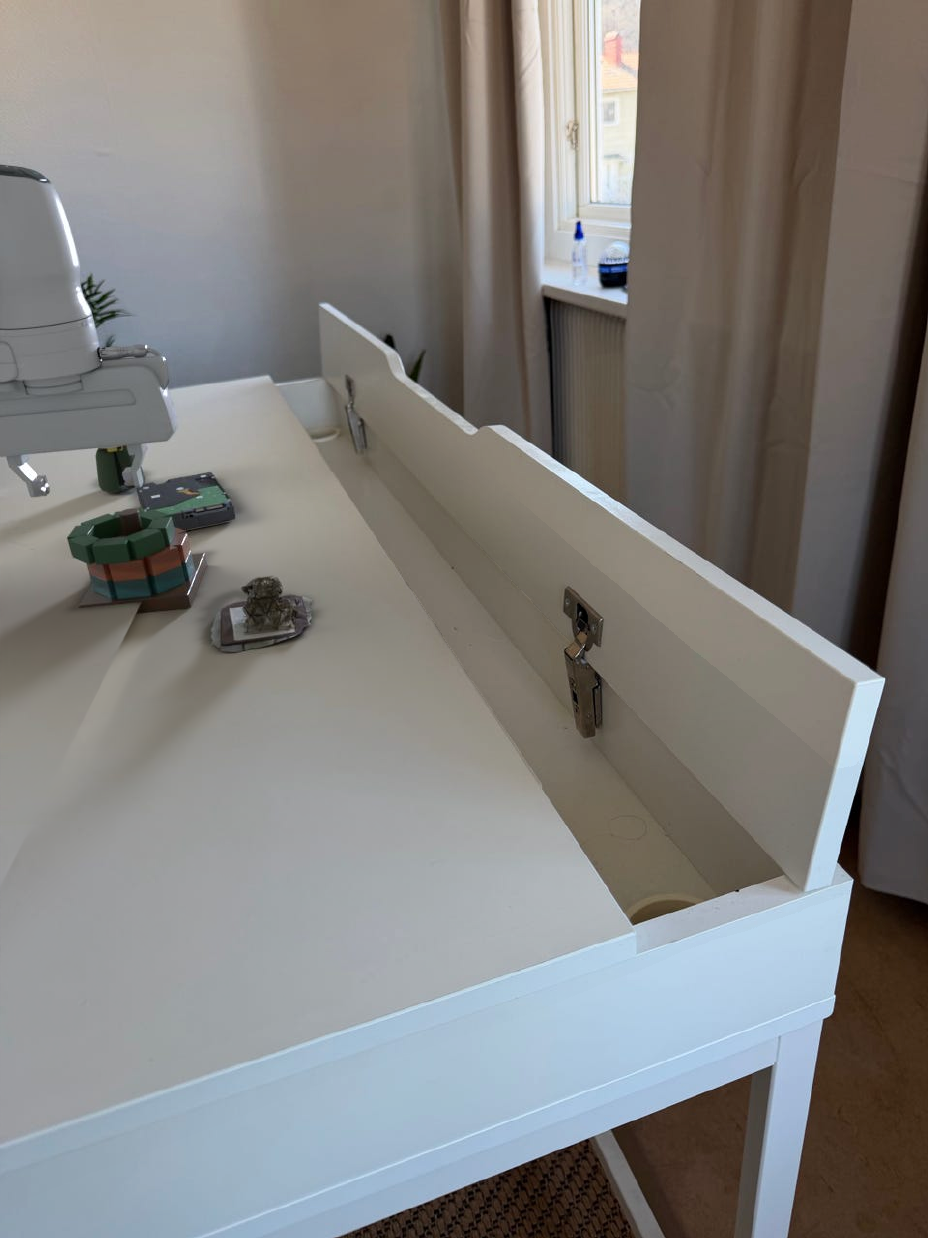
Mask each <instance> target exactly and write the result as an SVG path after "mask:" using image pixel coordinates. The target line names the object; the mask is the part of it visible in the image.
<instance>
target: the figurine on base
mask: <svg viewBox="0 0 928 1238" xmlns="http://www.w3.org/2000/svg"><path fill="white" fill-rule="evenodd" d="M240 589H241V591H242V592H243V593H244V594H245V595H246V597H247V599H243V600H239V601H235V602H232V603H231V604H229V605H226V606H224V607H222V608H221V609H220V610H219V611H218V612H217V613H216V614H215V616H214V620H213V624H212V627H211V628H210V632H211V635H210V639H211V640H212V641H211V645H213V646H215V647H216V648H217V650H219V651H222V652H228V653H236V652H237V653H238V652H243V651H247V650H251V649H259V648H264V647H269V646H271V645H275V644H276V643H277V644H278V643H279V642H282V641H285V640H288V639H291V638H293V637H296V636H298V635H300V634H302V633H303V629H304V628H306V627H309V626H311V625H312V623H311V622H310V621H311V620H312V619H313V616H312V614H313V610H312V608H311V603H312V602H313V599H311V598H309V597H307V596H304V595H297V594H283V592H284V585H283V583H282V581H281V579H280V578H279V577H277V576H276V575H268V576H257V577H254V578H252V579H251V580H250V581H248V582H247V583H246V584H244V585H242V586H241V588H240ZM282 594H283V595H282Z"/></svg>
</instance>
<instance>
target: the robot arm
mask: <svg viewBox="0 0 928 1238" xmlns="http://www.w3.org/2000/svg"><path fill="white" fill-rule="evenodd" d="M149 353H151V354H149ZM169 384H170V373H169V368H168V363H167V360H166V358H165V357H164V356H163V354H161V352H159V351H158V350H156V349H155V348H151V347H149V346H148V345H147V344H133V345H129V346H109V347H108V346H104V347H101V345H100V341H99V336H98V332H97V329H96V323H95V320H94V316H93V311H92V309H91V307H90V304H89V303H88V301H87V300H86V297H85V295H84V292H83V289H82V283H81V262H80V257H79V254H78V250H77V246H76V243H75V238H74V235H73V232H72V229H71V226H70V221H69V219H68V217H67V213H66V210H65V208H64V205H63V202H62V200H61V198H60V196H59V193H58V192H57V190H56V187H55V186H54V185H53V183H52V181H51V180H49V178H48V177H46V176H45V175H43V174H42V173H41V172H39V171H36V170H34V169H32V168H27V167H23V166H17V165H8V164H0V458H4V457H5V458H6V461H7V465H8V467H9V468H10V469H11V471H12V472H13V473H15V474H16V475H17V476H18V477H19V478H20V479H21V481H23V482H24V483H25V484H26V487H27V491H28V494H29V496H30V498H41V497H47V496H48V495H49V494H50V493H51V490H50V485H49V484H48V477H47V475H46V474H43V475H38V474H37V473H36V471H35V470H33V468H32V467H31V466H30V465H29V464H28V462H27V461H29V460H30V455H35V454H37V455H38V454H48V453H57V452H58V453H59V452H67V451H68V452H69V451H70V452H71V451H79V450H81V451H82V450H91V449H98V448H102V447H113V446H124V445H127V449H128V453H129V455H134V454H135V457H134V460H133V464H132V467H127V468H125V469H124V471H123V472H122V476H123V479H124V480H125V483H124V484H125V485H124V487H125V489H127V488H133V489H136V488H138V487H141V486H142V485H143V476H142V472H141V468H140V467H142V465H143V462H144V460H145V457H146V453H147V452H148V445H147V444H156V443H164V442H168V441H170V440H171V439H172V438H173V436H174V435H175V434H176V432H177V430H178V428H179V419H178V415H177V411H176V407H175V404H174V401H173V398H172V395H171V392H170V390H169Z"/></svg>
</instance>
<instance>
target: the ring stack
mask: <svg viewBox="0 0 928 1238" xmlns="http://www.w3.org/2000/svg"><path fill="white" fill-rule="evenodd" d="M120 511H121V512H119V518H120V522H121V526H122V530H123V534H124V535H118V536H115V537H126V536H129V535H131V534H134V533H137V532H139V531H142V530H143V526H142V522H141V518H140V514H139V509H138V508H126V509H123V510H120ZM174 529H175V533H176V534H175V536H174V538H173V540H172V542H171V544H170V546H165V548H166V549H163V550H161V551H159V552H156V553H154V554H151V555H149V556H146V557H144V558H141V559H139V560H137V559H134V558H132V559H131V561H130V562H122V563H112V564H102V565H96V562H95V563H93V564H88V563H85V564H86V567H87V571H88V574H89V578H90V581H91V585H90V586H89V588H88V589H87V592H86V593H85V594H84V596H83V598H82V600H81V601H80V603H79V604H78V608H79V609H83V608H93V607H103V606H104V607H105V606H111V605H112V606H113V605H114V606H115V605H122V604H132V603H140V605H139V606H138V608H137V611H136V614H140V613H150V612H161V611H162V612H163V611H171V610H179V609H181V610H182V609H190V608H192V606H193V603H194V600H195V597H196V595H197V593H198V590H199V587H200V584H201V583H202V580H203V577H204V575H205V571H206V569H207V567H208V562H207V557H206V553H205V552H201V553H192V550H191V549H192V548H191V545H190V540H189V535H188V533H187V532H186V531H185V530H181V529H178V528H175V527H174ZM115 537H112V538H115Z"/></svg>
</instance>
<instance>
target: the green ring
mask: <svg viewBox="0 0 928 1238" xmlns="http://www.w3.org/2000/svg"><path fill="white" fill-rule="evenodd" d="M138 510H139V514H140V518H141V522H142V526H143V530H142V531H139V532H137V533H134V534H131V535H129V536H126V537H115V536H118V535H124V534H123V530H122V526H121V522H120V518H119V512H121V511H122V510H120V511H115V512H114V513H113V514H110V513H105V514H102V515H99V516H97V517H94V518H92V519H88V520H86V521H83V522H80V525H75V526H74V528H73V529H72V530H71V531H70V533H69V534H68V535H67V537H66V539H67V543H68V547H69V550H70V554H71V557H72V558H73V559H75V560H78V561H80V562H82V563H85V564H86V563H88V564H93V563H95V562H96V565H102V564H112V563H122V562H130V561H131V559H132V558H134V559H137V560H139V559H141V558H144V557H146V556H149V555H151V554H154V553H156V552H159V551H161V550H163V549H166V548H165V546H170V544H171V542H172V540H173V538H174V536H175V534H176V533H175V529H174V525H173V520H172V517H171V516H170V514H167V513H164V512H160V511H157V510H154V509H151V510H148V511H147V510H146V509H143V508H140V509H138ZM112 537H115V538H112Z"/></svg>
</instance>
